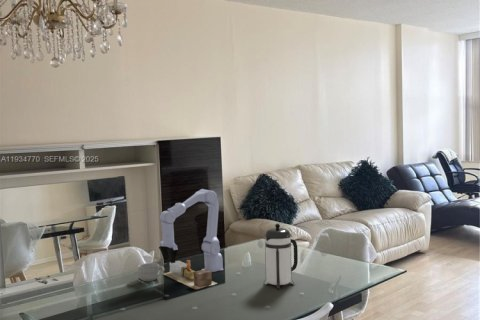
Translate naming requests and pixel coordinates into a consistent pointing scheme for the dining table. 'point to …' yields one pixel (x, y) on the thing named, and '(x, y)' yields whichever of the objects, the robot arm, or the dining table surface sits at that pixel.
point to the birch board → (186, 280)
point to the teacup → (149, 271)
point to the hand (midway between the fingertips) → (169, 261)
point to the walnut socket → (202, 278)
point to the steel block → (178, 268)
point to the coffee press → (279, 256)
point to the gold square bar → (188, 270)
